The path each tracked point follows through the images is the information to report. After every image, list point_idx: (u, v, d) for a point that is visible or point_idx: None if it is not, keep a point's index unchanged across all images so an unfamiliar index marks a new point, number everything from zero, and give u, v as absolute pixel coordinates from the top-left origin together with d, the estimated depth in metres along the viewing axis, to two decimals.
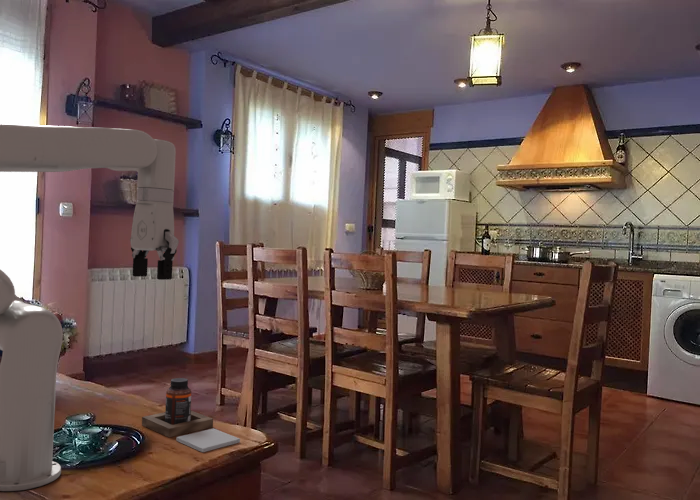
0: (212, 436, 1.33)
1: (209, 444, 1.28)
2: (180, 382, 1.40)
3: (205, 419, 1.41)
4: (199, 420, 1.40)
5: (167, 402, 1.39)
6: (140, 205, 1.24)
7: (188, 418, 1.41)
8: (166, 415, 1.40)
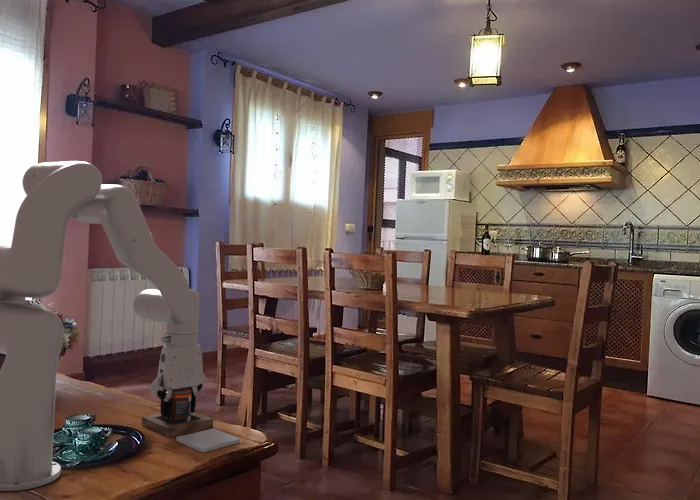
0: (212, 436, 1.33)
1: (209, 444, 1.28)
2: None
3: (205, 419, 1.41)
4: (199, 420, 1.40)
5: None
6: (182, 349, 1.39)
7: (188, 418, 1.41)
8: None
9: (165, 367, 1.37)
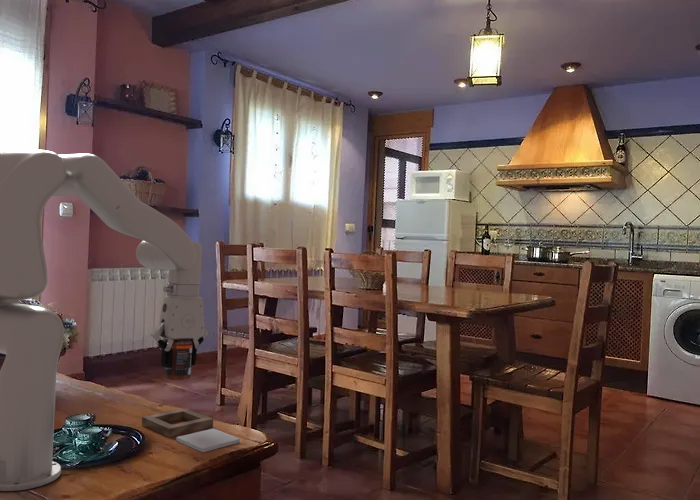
0: (212, 436, 1.33)
1: (209, 444, 1.28)
2: None
3: (205, 419, 1.41)
4: (199, 420, 1.40)
5: None
6: (184, 299, 1.39)
7: (189, 370, 1.40)
8: None
9: (167, 316, 1.37)
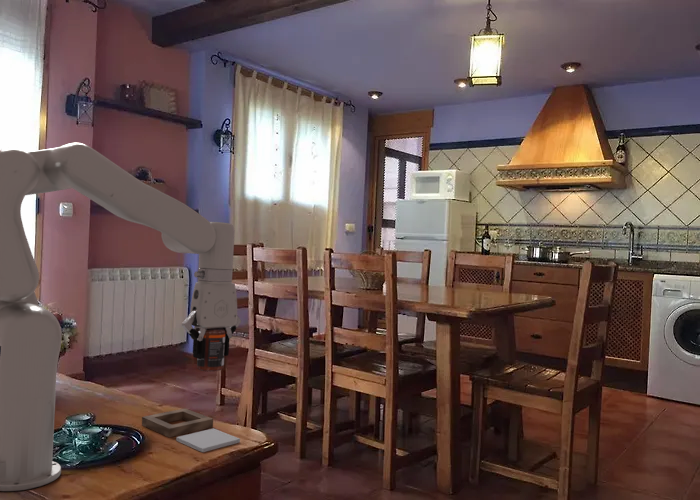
0: (212, 436, 1.33)
1: (209, 444, 1.28)
2: None
3: (205, 419, 1.41)
4: (199, 420, 1.40)
5: None
6: (217, 285, 1.29)
7: (222, 361, 1.31)
8: None
9: (199, 304, 1.27)
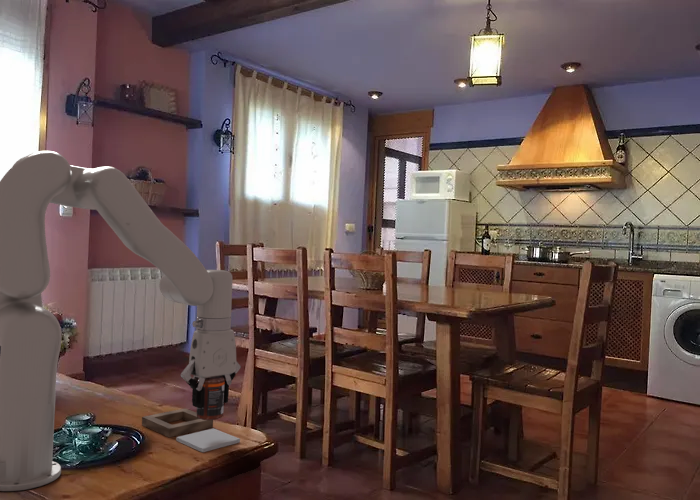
0: (212, 436, 1.33)
1: (209, 444, 1.28)
2: None
3: None
4: (199, 420, 1.40)
5: None
6: (215, 334, 1.29)
7: (222, 409, 1.31)
8: None
9: (197, 354, 1.27)
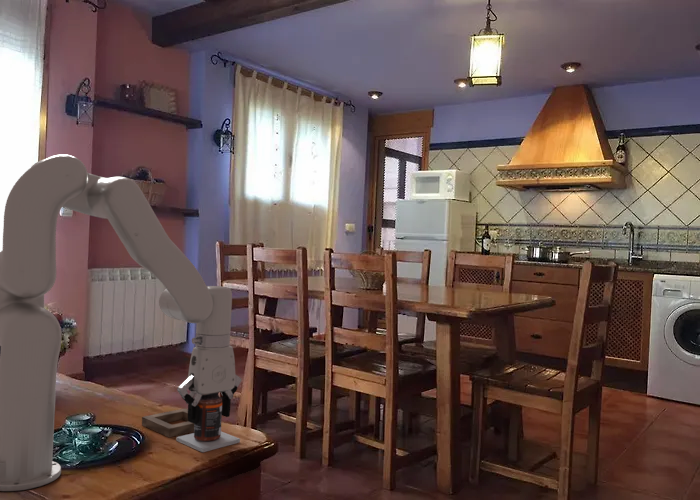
0: None
1: (209, 444, 1.28)
2: None
3: None
4: None
5: None
6: (214, 351, 1.29)
7: (219, 430, 1.31)
8: (196, 426, 1.29)
9: (196, 370, 1.27)
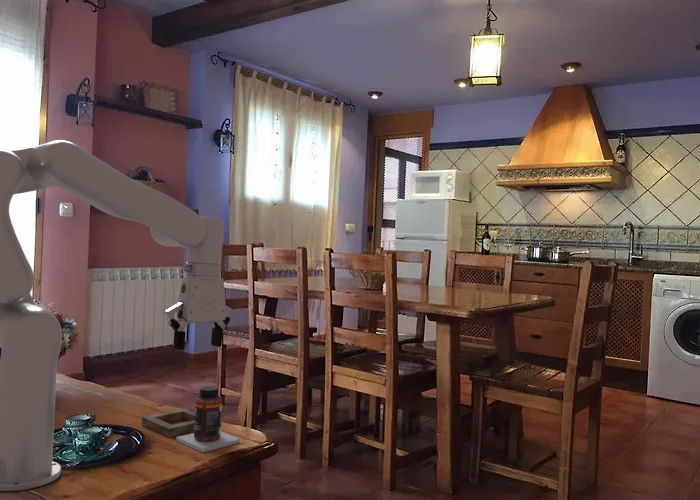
0: None
1: (209, 444, 1.28)
2: (211, 391, 1.30)
3: None
4: None
5: (197, 412, 1.29)
6: (204, 280, 1.29)
7: (219, 430, 1.31)
8: (195, 426, 1.29)
9: (185, 298, 1.27)
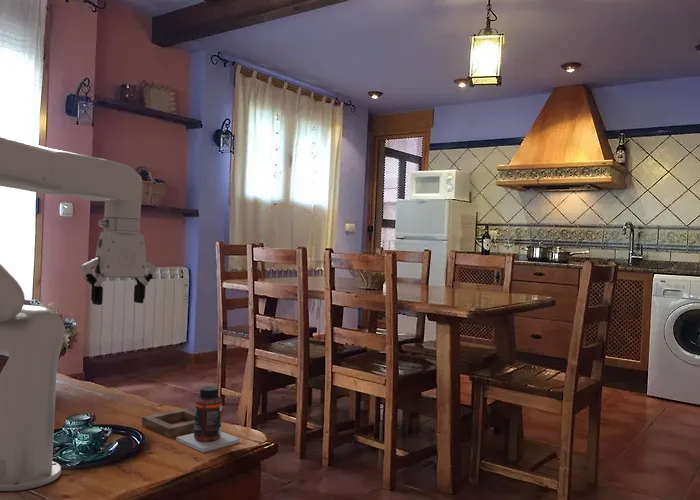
0: None
1: (209, 444, 1.28)
2: (211, 391, 1.30)
3: None
4: None
5: (197, 412, 1.29)
6: (121, 234, 1.27)
7: (219, 430, 1.31)
8: (196, 426, 1.29)
9: (102, 252, 1.25)
